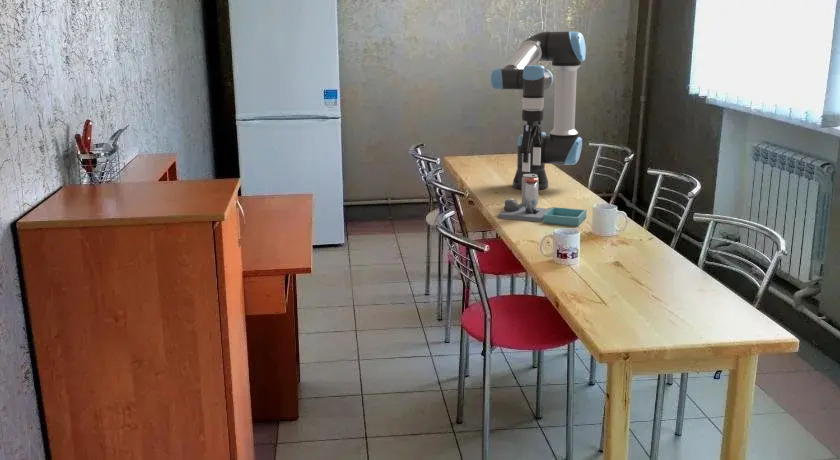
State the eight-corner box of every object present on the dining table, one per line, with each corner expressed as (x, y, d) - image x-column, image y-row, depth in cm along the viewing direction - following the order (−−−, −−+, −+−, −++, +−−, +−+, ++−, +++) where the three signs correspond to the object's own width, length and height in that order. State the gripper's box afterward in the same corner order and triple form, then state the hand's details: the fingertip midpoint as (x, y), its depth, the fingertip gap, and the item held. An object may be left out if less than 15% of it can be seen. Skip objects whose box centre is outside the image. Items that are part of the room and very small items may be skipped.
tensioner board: (509, 209, 302) (510, 194, 300) (551, 212, 296) (551, 197, 294) (498, 217, 290) (498, 202, 288) (541, 221, 283) (541, 206, 282)
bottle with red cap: (526, 213, 295) (526, 176, 291) (538, 214, 293) (539, 177, 289) (522, 216, 291) (523, 179, 287) (534, 217, 289) (535, 179, 285)
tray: (552, 214, 293) (552, 206, 292) (586, 217, 288) (586, 209, 287) (543, 223, 282) (543, 214, 281) (578, 226, 277) (578, 218, 276)
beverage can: (537, 207, 304) (538, 176, 301) (520, 206, 305) (521, 176, 302) (538, 203, 310) (539, 173, 307) (521, 202, 311) (522, 173, 308)
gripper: (532, 105, 294) (531, 161, 299) (512, 112, 272) (510, 173, 277) (552, 106, 291) (550, 163, 296) (533, 113, 269) (531, 175, 274)
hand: (531, 168), depth 287 cm, fingers open, 13 cm apart
